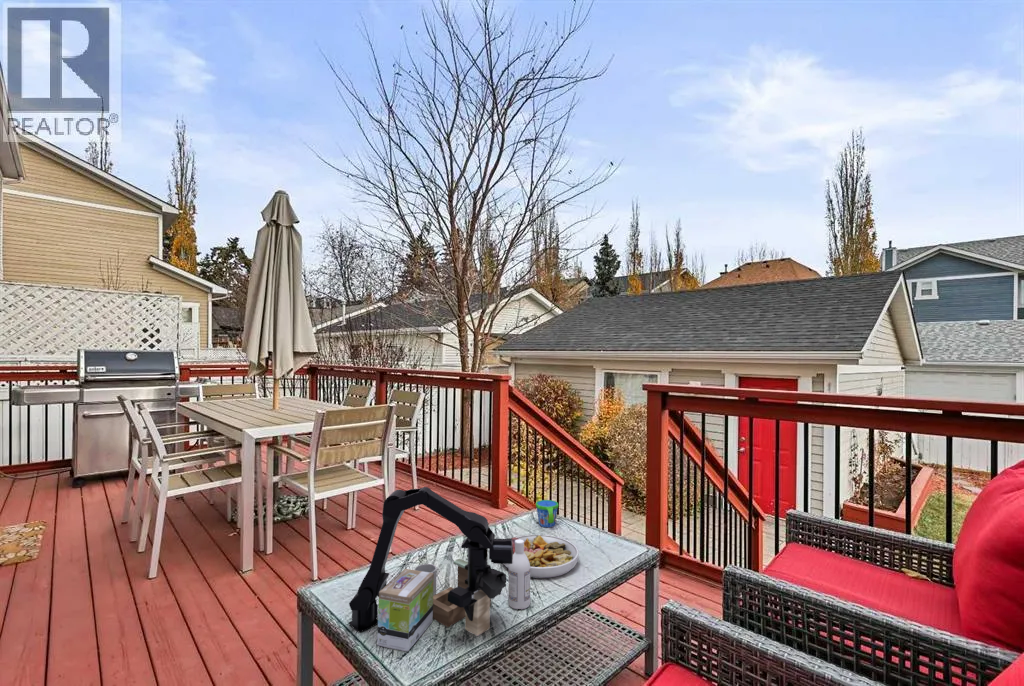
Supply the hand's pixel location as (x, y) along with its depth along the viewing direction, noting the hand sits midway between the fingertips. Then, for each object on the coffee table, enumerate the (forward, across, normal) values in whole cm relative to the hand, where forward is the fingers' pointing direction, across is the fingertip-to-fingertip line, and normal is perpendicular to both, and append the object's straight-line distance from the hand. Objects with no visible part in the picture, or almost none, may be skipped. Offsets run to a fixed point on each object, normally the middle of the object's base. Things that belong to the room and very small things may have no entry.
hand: (477, 616), depth 133 cm
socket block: (+4, +3, +12) cm, 13 cm away
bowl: (+4, +46, +12) cm, 48 cm away
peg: (+4, 0, 0) cm, 4 cm away
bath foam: (+4, +18, -1) cm, 18 cm away
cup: (+4, +2, +27) cm, 27 cm away
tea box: (+4, -15, +14) cm, 21 cm away
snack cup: (+4, +79, +32) cm, 85 cm away
